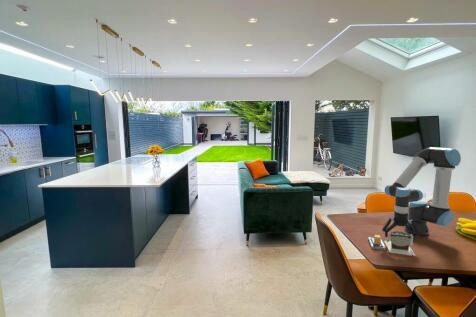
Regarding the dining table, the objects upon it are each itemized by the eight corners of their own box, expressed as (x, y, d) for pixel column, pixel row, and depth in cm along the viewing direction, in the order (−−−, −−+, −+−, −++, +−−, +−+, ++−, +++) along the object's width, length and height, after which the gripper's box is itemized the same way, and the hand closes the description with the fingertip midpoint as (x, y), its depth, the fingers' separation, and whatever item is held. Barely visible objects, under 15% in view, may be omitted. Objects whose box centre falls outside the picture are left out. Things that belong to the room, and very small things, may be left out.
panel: (380, 240, 178) (380, 237, 177) (385, 250, 164) (385, 247, 163) (368, 239, 180) (368, 236, 180) (371, 248, 166) (371, 245, 166)
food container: (407, 246, 168) (409, 232, 167) (411, 251, 162) (412, 236, 161) (386, 244, 172) (387, 230, 170) (389, 248, 166) (390, 233, 165)
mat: (407, 243, 173) (407, 243, 173) (415, 256, 156) (415, 255, 156) (383, 240, 177) (383, 240, 177) (390, 252, 161) (390, 252, 161)
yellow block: (379, 242, 171) (379, 235, 170) (380, 244, 167) (380, 237, 167) (373, 241, 172) (374, 234, 171) (375, 244, 168) (375, 237, 168)
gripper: (421, 212, 163) (419, 243, 166) (378, 208, 172) (376, 238, 174) (426, 215, 156) (423, 248, 159) (380, 211, 164) (378, 243, 167)
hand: (399, 243), depth 166 cm, fingers open, 13 cm apart
